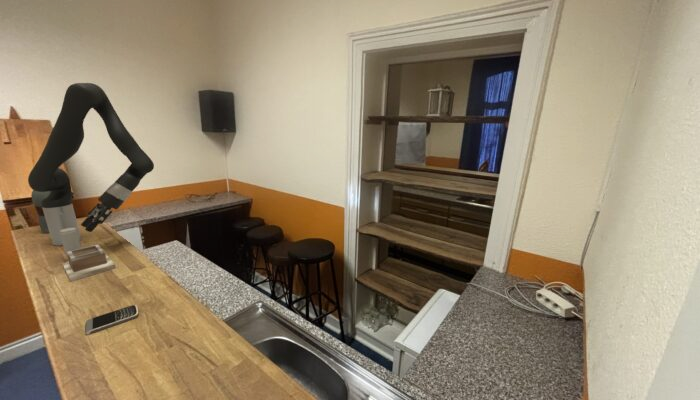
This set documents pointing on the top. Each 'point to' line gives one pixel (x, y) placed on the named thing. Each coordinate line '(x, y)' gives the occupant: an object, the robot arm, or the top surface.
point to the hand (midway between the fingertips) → (85, 228)
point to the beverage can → (70, 239)
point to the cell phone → (110, 319)
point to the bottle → (40, 208)
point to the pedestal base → (88, 271)
